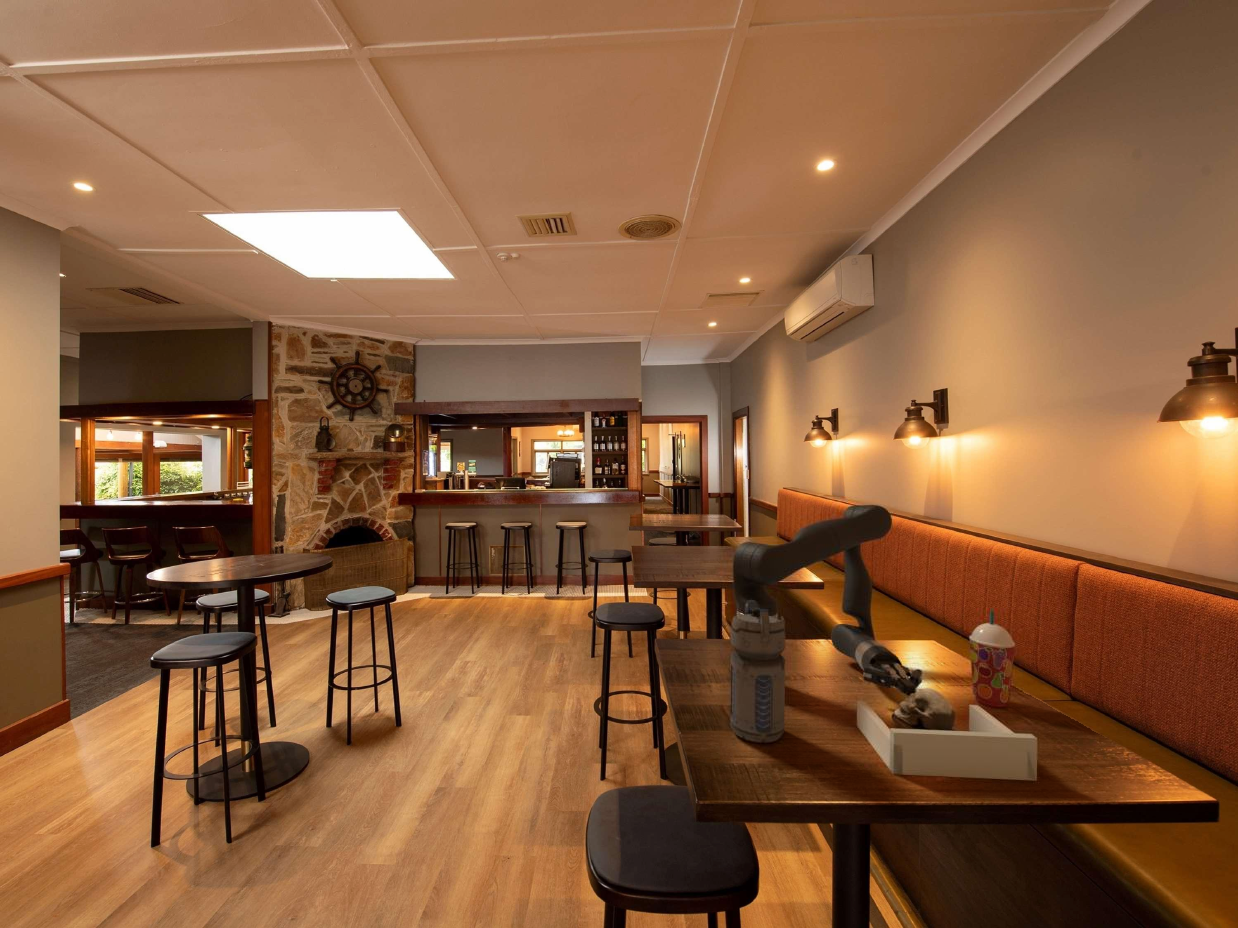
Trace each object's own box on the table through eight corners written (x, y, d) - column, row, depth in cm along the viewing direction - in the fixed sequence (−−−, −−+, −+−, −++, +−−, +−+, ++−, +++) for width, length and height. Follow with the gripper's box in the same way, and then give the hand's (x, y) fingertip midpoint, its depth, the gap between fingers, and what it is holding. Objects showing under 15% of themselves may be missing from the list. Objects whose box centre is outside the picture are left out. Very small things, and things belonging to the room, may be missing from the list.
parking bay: (893, 773, 95) (893, 732, 95) (856, 725, 113) (857, 690, 113) (1036, 780, 94) (1037, 738, 93) (977, 730, 111) (977, 694, 111)
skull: (877, 720, 112) (893, 674, 117) (896, 744, 117) (910, 698, 122) (942, 742, 103) (956, 690, 108) (960, 766, 108) (973, 716, 112)
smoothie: (1000, 695, 128) (1001, 607, 128) (1022, 711, 120) (1023, 617, 120) (961, 693, 129) (962, 605, 129) (981, 709, 120) (982, 615, 120)
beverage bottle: (772, 715, 117) (773, 594, 117) (792, 748, 103) (793, 611, 103) (723, 715, 117) (724, 594, 116) (737, 747, 103) (738, 611, 103)
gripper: (848, 644, 132) (877, 671, 115) (906, 645, 131) (944, 673, 114) (848, 676, 132) (877, 708, 115) (906, 678, 131) (944, 710, 114)
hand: (910, 690), depth 115 cm, fingers closed
